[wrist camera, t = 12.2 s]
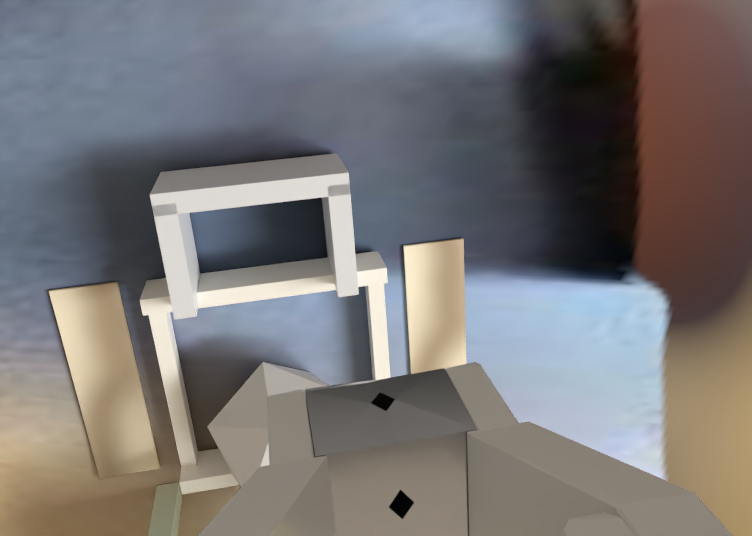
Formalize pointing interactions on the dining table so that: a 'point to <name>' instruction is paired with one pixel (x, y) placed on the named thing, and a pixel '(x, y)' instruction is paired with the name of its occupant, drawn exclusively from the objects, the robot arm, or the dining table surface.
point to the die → (254, 417)
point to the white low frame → (250, 273)
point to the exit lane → (121, 377)
